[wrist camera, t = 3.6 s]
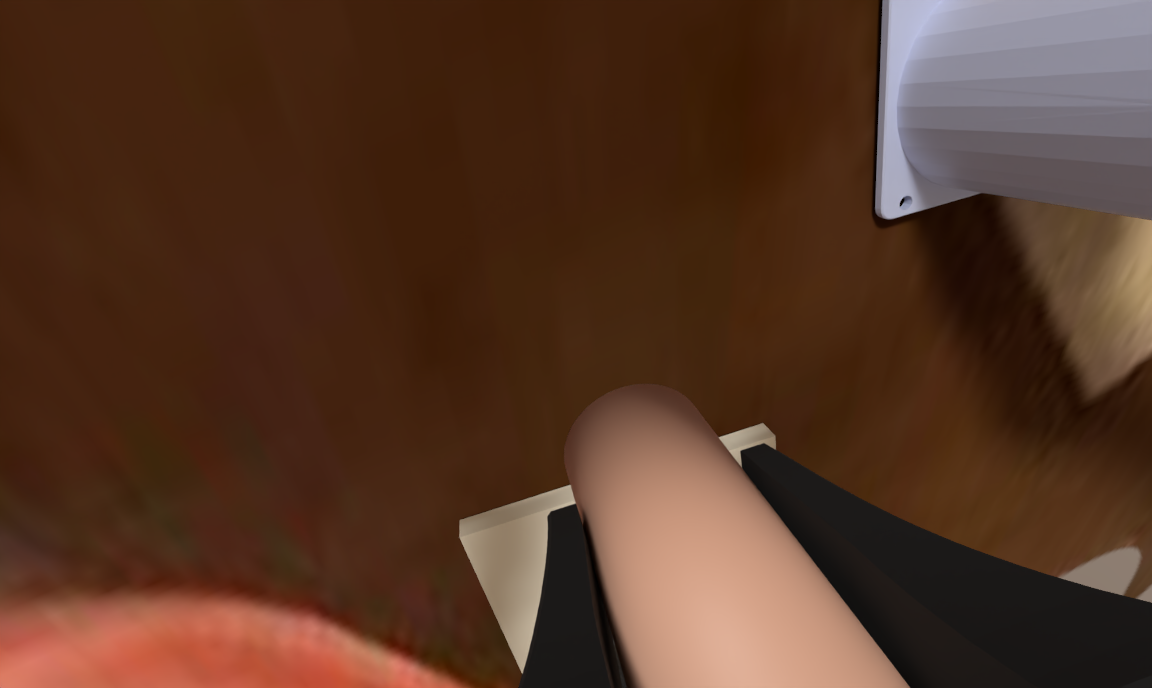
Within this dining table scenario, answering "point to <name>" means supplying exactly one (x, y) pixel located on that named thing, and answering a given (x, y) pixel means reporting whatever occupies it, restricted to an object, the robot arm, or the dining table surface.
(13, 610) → the dining table surface
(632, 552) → the peg
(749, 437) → the socket board
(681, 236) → the dining table surface
